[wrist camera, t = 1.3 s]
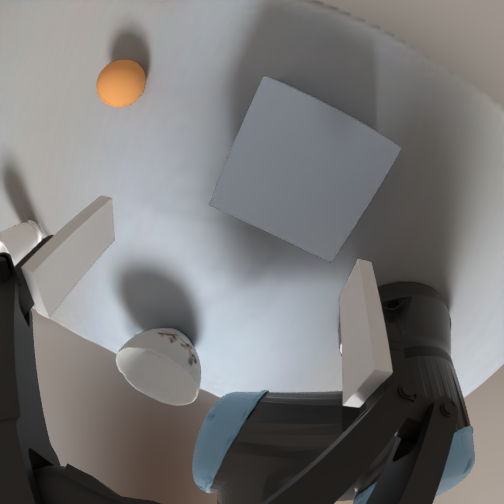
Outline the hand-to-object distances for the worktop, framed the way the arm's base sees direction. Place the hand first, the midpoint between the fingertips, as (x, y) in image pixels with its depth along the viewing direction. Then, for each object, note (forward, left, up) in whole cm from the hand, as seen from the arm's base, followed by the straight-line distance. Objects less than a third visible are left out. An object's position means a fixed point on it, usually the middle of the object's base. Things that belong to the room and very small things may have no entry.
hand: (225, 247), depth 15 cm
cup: (+29, +24, -16) cm, 41 cm away
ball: (+17, -3, -14) cm, 22 cm away
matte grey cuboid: (-2, -3, -16) cm, 17 cm away
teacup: (+3, +31, -16) cm, 35 cm away
